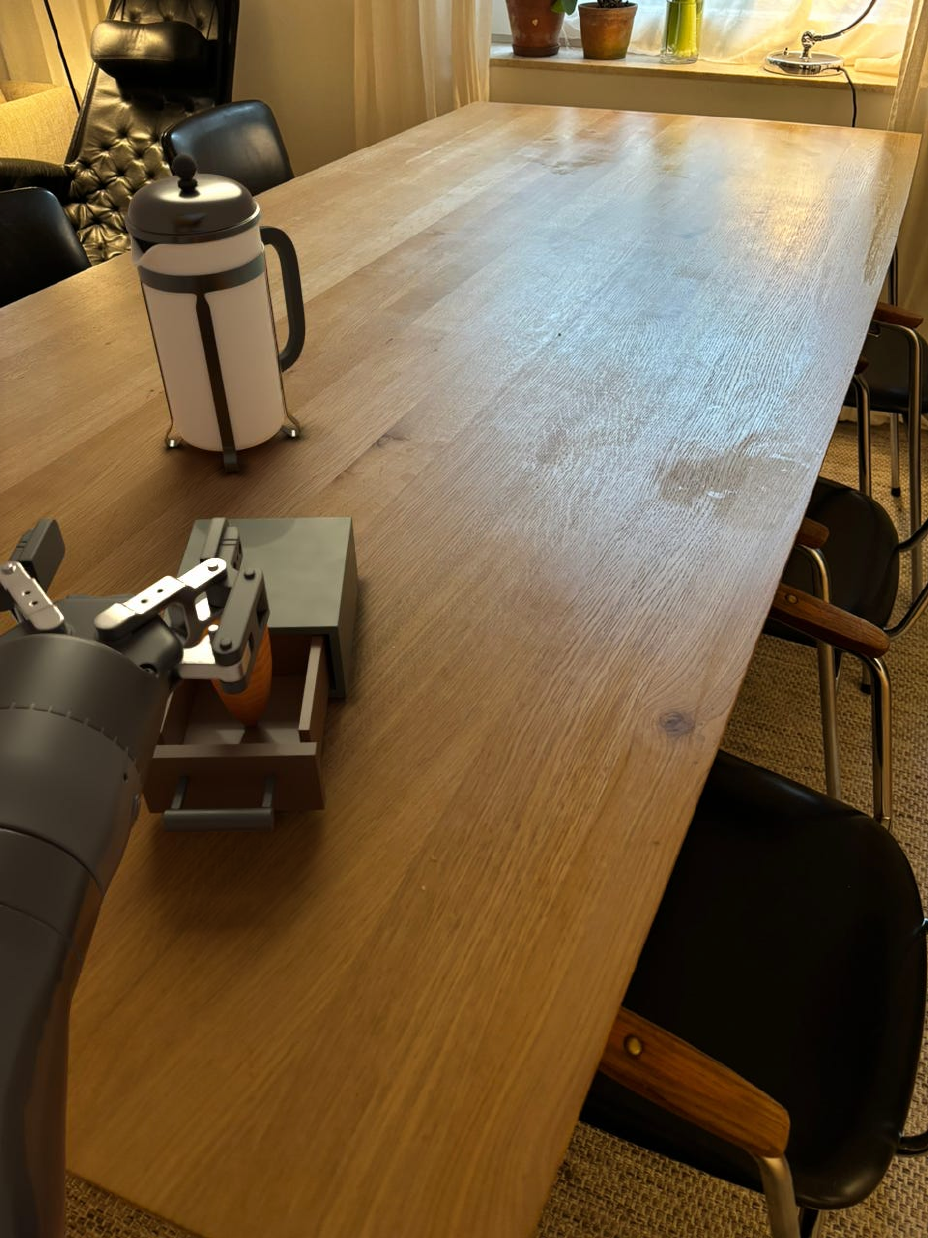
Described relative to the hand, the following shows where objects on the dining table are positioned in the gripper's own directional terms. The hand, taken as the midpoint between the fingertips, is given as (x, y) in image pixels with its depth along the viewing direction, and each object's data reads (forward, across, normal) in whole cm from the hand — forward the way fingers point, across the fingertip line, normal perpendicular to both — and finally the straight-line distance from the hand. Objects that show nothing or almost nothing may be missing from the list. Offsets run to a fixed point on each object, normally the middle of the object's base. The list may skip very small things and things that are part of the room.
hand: (138, 532), depth 50 cm
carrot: (+11, 0, +26) cm, 28 cm away
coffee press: (+58, +8, +28) cm, 65 cm away
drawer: (+8, 0, +27) cm, 28 cm away
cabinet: (+23, 0, +28) cm, 36 cm away
